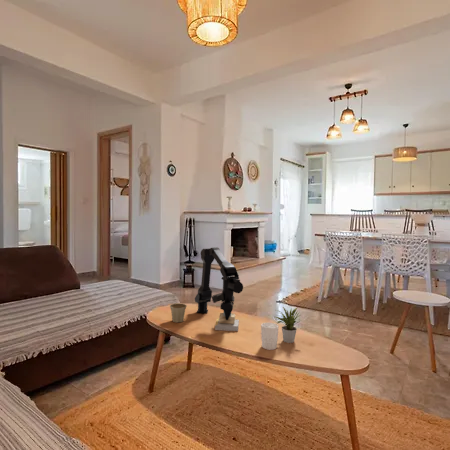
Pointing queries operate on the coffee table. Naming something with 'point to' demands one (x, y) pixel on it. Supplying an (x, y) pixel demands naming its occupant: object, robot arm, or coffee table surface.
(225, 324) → the dock
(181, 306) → the flower pot
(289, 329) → the house plant
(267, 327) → the white cup
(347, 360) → the coffee table surface
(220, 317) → the pallet
